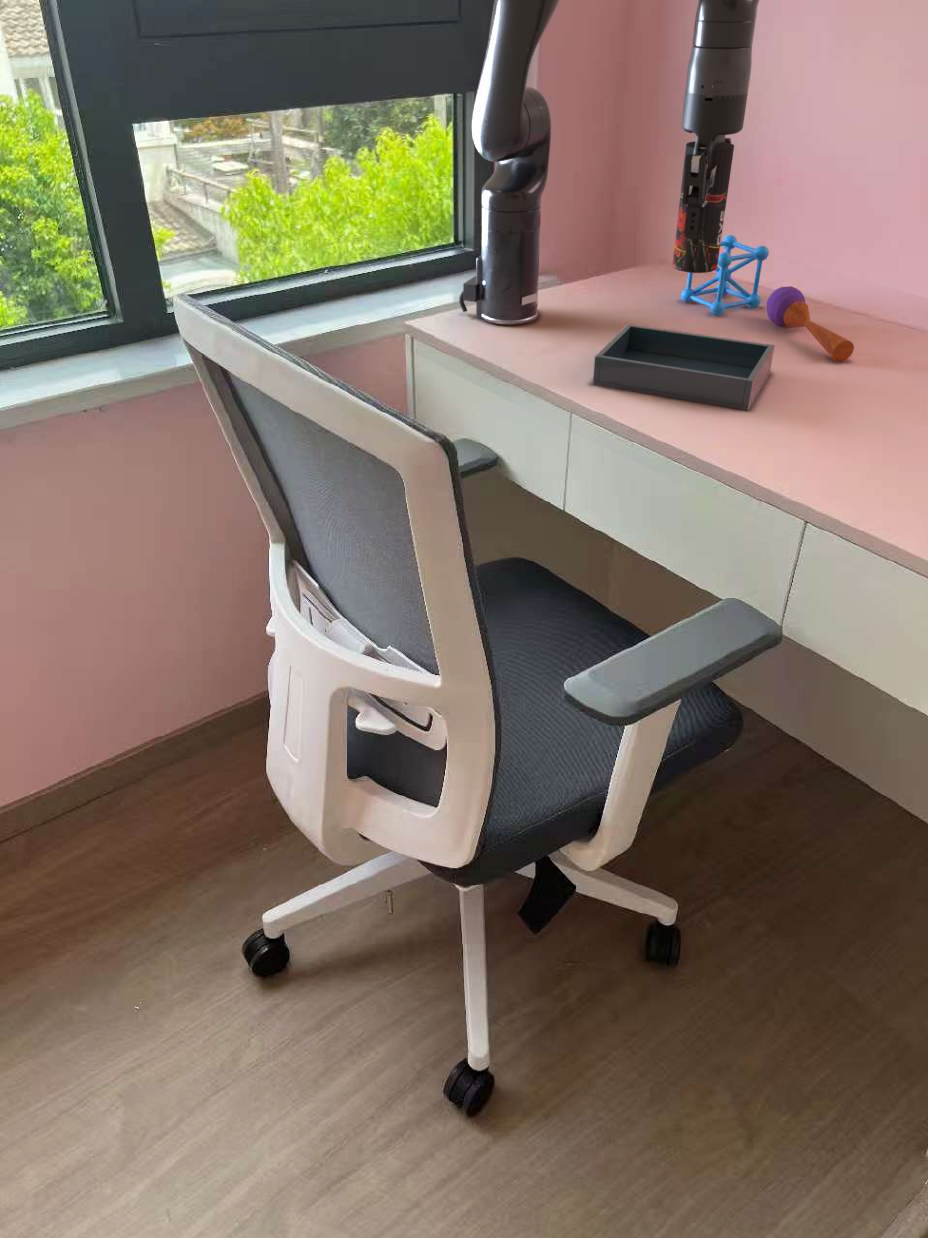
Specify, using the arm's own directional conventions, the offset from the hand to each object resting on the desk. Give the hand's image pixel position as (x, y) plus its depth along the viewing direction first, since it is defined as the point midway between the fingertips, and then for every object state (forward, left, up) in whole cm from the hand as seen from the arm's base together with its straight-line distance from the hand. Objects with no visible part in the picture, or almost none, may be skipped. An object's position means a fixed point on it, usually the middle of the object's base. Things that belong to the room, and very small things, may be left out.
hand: (699, 230), depth 130 cm
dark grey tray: (+1, -2, -19) cm, 20 cm away
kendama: (+14, +21, -20) cm, 32 cm away
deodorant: (0, 0, -5) cm, 5 cm away
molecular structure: (-2, +32, -20) cm, 38 cm away
